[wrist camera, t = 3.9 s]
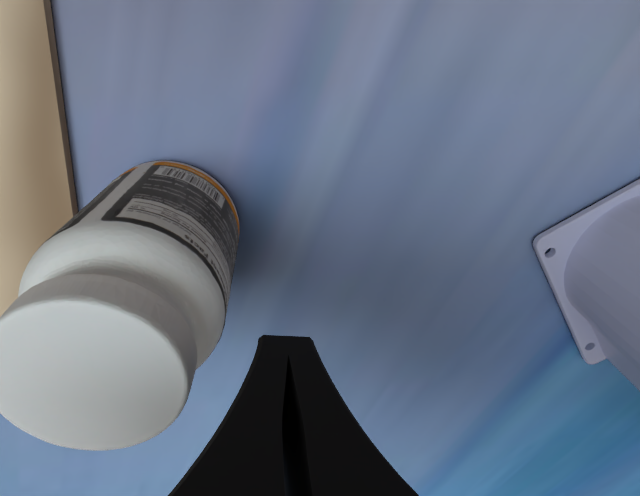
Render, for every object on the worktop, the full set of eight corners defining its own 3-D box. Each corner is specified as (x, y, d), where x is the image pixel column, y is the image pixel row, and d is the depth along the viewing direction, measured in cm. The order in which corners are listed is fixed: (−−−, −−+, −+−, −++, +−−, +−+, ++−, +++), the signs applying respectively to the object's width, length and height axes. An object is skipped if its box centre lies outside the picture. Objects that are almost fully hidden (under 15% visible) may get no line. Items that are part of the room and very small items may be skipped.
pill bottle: (149, 292, 20) (51, 492, 12) (79, 183, 18) (-118, 333, 9) (261, 252, 20) (247, 428, 11) (206, 135, 17) (130, 242, 9)
